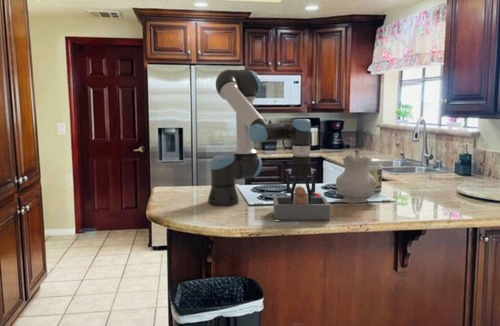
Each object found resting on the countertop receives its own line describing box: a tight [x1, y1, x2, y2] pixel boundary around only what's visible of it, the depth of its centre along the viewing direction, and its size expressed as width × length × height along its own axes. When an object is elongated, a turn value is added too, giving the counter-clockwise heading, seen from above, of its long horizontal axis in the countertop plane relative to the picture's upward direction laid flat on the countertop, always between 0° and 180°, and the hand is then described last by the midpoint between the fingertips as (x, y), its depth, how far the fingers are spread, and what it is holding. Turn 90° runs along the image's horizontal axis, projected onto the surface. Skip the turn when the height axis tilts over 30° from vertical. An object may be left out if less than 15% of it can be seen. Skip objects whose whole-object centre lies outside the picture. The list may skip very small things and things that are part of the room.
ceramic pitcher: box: [335, 148, 376, 204], centre depth 213 cm, size 22×20×25 cm
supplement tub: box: [368, 158, 383, 192], centre depth 237 cm, size 12×12×17 cm
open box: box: [272, 196, 331, 222], centre depth 186 cm, size 23×15×7 cm, turn 89°
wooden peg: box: [294, 185, 307, 204], centre depth 185 cm, size 4×6×12 cm, turn 179°
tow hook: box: [310, 187, 322, 197], centre depth 223 cm, size 8×13×9 cm
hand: (300, 208), depth 186 cm, fingers open, 5 cm apart
